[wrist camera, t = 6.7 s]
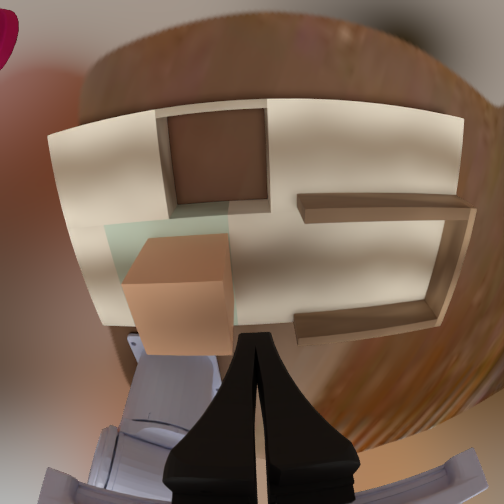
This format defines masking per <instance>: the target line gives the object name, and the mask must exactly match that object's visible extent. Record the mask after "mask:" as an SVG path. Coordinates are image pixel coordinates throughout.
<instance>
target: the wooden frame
mask: <svg viewBox="0 0 504 504" xmlns="http://www.w3.org/2000/svg"><path fill="white" fill-rule="evenodd" d="M297 209H298V211H299V213H300V215H301V217H302V219H303V222H304V224H316V223H343V222H376V221H424V220H445V223H444V227H443V232H442V236H441V241H440V245H439V249H438V253H437V257H436V261H435V264H434V268H433V271H432V275H431V278H430V282H429V285H428V288H427V291H426V295H425V298H424V299H422V300H416V301H409V302H401V303H394V304H386V305H378V306H370V307H361V308H352V309H342V310H332V311H321V312H309V313H297V314H294V315H293V324H294V329H295V334H296V339H297V344H298V347H299V346H310V345H320V344H329V343H338V342H346V341H354V340H361V339H368V338H375V337H381V336H387V335H393V334H399V333H405V332H410V331H416V330H421V329H426V328H431V327H436V326H440V325H441V323H442V320H443V318H444V315H445V313H446V310H447V308H448V305H449V303H450V300H451V297H452V295H453V292H454V289H455V286H456V283H457V280H458V277H459V274H460V271H461V268H462V265H463V262H464V258H465V255H466V251H467V248H468V244H469V240H470V237H471V233H472V229H473V224H474V220H475V216H476V211H477V208H476V207H474V206H472V205H471V204H469V203H468V202H466V201H465V200H463V199H461V198H460V197H458V196H457V195H447V194H422V193H299V194H297Z"/></svg>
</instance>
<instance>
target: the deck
mask: <svg viewBox="0 0 504 504" xmlns="http://www.w3.org/2000/svg"><path fill="white" fill-rule="evenodd" d="M251 108H264V112H265V136H266V162H267V191H268V199H254V200H236V201H220V202H206V203H193V204H181V205H177V198H176V191H175V184H174V176H173V168H172V160H171V151H170V143H169V133H168V123H167V116H175V115H182V114H190V113H199V112H209V111H220V110H234V109H251ZM463 127H464V119H463V118H459V117H454V116H450V115H445V114H441V113H436V112H430V111H425V110H419V109H413V108H407V107H400V106H393V105H386V104H377V103H368V102H357V101H344V100H327V99H250V100H233V101H220V102H209V103H199V104H190V105H182V106H175V107H168V108H162V109H155V110H150V111H144V112H138V113H133V114H128V115H123V116H119V117H114V118H110V119H105V120H101V121H97V122H93V123H89V124H85V125H82V126H78V127H74V128H71V129H67V130H64V131H61V132H57V133H54V134H51V135H48V143H49V149H50V155H51V160H52V166H53V171H54V176H55V180H56V185H57V190H58V194H59V198H60V202H61V206H62V210H63V214H64V218H65V221H66V225H67V228H68V232H69V235H70V238H71V242H72V245H73V248H74V251H75V254H76V257H77V260H78V263H79V266H80V269H81V272H82V275H83V277H84V280H85V283H86V285H87V288H88V290H89V293H90V296H91V298H92V301H93V303H94V305H95V308H96V310H97V313H98V315H99V317H100V320H101V322H102V324H103V325H106V326H135V323H134V320H133V318H132V315H131V312H130V309H129V306H128V303H127V301H126V298H125V295H124V292H123V289H122V286H121V284H122V282H123V280H124V278H125V276H126V275H127V273H128V271H129V269H130V268H131V266H132V264H133V263H134V261H135V259H136V258H137V256H138V254H139V252H140V251H141V249H142V248H143V246H144V244H145V243H146V241H147V239H148V238H158V237H173V236H188V235H204V234H221V233H228V240H229V251H230V261H231V271H232V282H233V291H234V324H233V325H253V324H271V323H286V322H293V315H294V314H297V313H309V312H321V311H332V310H342V309H352V308H361V307H370V306H378V305H386V304H394V303H401V302H409V301H416V300H422V299H424V298H425V295H426V291H427V288H428V285H429V282H430V278H431V275H432V271H433V268H434V264H435V261H436V257H437V253H438V249H439V245H440V241H441V236H442V232H443V227H444V223H445V220H424V221H376V222H343V223H316V224H304V222H303V219H302V217H301V215H300V213H299V211H298V209H297V194H299V193H422V194H447V195H456V190H457V184H458V177H459V170H460V162H461V152H462V141H463Z"/></svg>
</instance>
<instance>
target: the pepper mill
mask: <svg viewBox="0 0 504 504" xmlns="http://www.w3.org/2000/svg"><path fill="white" fill-rule="evenodd" d="M18 31H19V22H18V18H17V16H16V15H15V13H14V12H13V11H11V10H6V9H0V70H1V69H2V68H3V66H4V65H5V64H6V62H7V61H8V59H9V57H10V55H11V54H12V51H13V48H14V46H15V43H16V40H17V36H18Z"/></svg>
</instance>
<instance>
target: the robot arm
mask: <svg viewBox="0 0 504 504" xmlns="http://www.w3.org/2000/svg"><path fill="white" fill-rule="evenodd" d="M127 340H128V342H129V344H130V347H131V349H132V351H133V353H134V356H135V358H136V360H137V362H138V365H137V368H136V371H135V374H134V378H133V381H132V384H131V388H130V391H129V395H128V398H127V402H126V405H125V409H124V413H123V416H122V420H121V423H120V425H119V427H118V429H117V427H115V426H112V425H110V426H109V427H106V428H104V429H102V431H101V434H100V437H99V440H98V444H97V447H96V451H95V454H94V458H93V461H92V465H91V469H90V473H89V478H88V483H87V484H86V483H82V482H79V481H78V480H77V479H75V478H74V477H72V476H71V475H69V474H66V473H63V472H60V471H58V470H55V469H52V468H50V467H48V468H47V471H46V474H45V477H44V481H43V484H42V488H41V492H40V496H39V500H38V504H258V499H257V478H256V455H255V408H256V391H257V385H258V392H259V398H260V405H261V411H262V418H263V424H264V436H265V454H266V474H267V494H268V504H461V503H463V502H465V501H467V500H469V499H470V498H472V497H474V496H475V495H477V494H479V493H480V492H482V491H484V490H485V489H487V488H488V484H487V481H486V478H485V475H484V473H483V470H482V467H481V465H480V462H479V460H478V457H477V455H476V452H475V450H474V448H470V449H468V450H466V451H464V452H461V453H459V454H457V455H455V456H453V457H452V458H450V459H449V460H448V461H447V462H445V464H443V465H441V466H438V467H436V468H434V469H431V470H428V471H426V472H423V473H421V474H418V475H415V476H412V477H409V478H406V479H404V480H400V481H397V482H394V483H391V484H387V485H384V486H381V487H377V488H373V489H369V490H365V491H361V492H357V493H354V488H353V484H354V478H353V474H354V473H355V472H356V471H357V469H358V468H359V466H360V460H359V457H358V455H357V452H356V450H355V448H354V447H353V445H352V443H351V442H350V441H349V440H348V439H347V438H345V437H344V436H343V435H342V434H340V433H339V432H338V431H337V430H336V429H334V428H333V427H332V426H331V425H330V424H329V423H328V422H327V421H326V420H325V419H324V418H323V417H322V416H321V415H320V414H319V413H318V412H317V411H316V410H315V409H314V407H313V406H312V405H311V404H310V403H309V401H308V400H307V399H306V398H305V396H304V395H303V394H302V393H301V391H300V390H299V388H298V387H297V385H296V384H295V382H294V381H293V379H292V378H291V376H290V375H289V373H288V371H287V369H286V368H285V366H284V364H283V362H282V360H281V358H280V356H279V354H278V352H277V349H276V347H275V344H274V342H273V338H272V335H271V333H270V332H258V333H241V334H239V336H238V342H237V346H236V350H235V353H234V356H233V359H232V361H231V364H230V366H229V369H228V371H227V373H226V375H225V378H224V380H223V382H222V381H221V376H220V372H219V367H218V362H217V357H216V355H214V356H176V355H147V353H146V351H145V349H144V346H143V344H142V341H141V339H140V336H139V334H129V335H128V337H127ZM134 342H135V343H134Z"/></svg>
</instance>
